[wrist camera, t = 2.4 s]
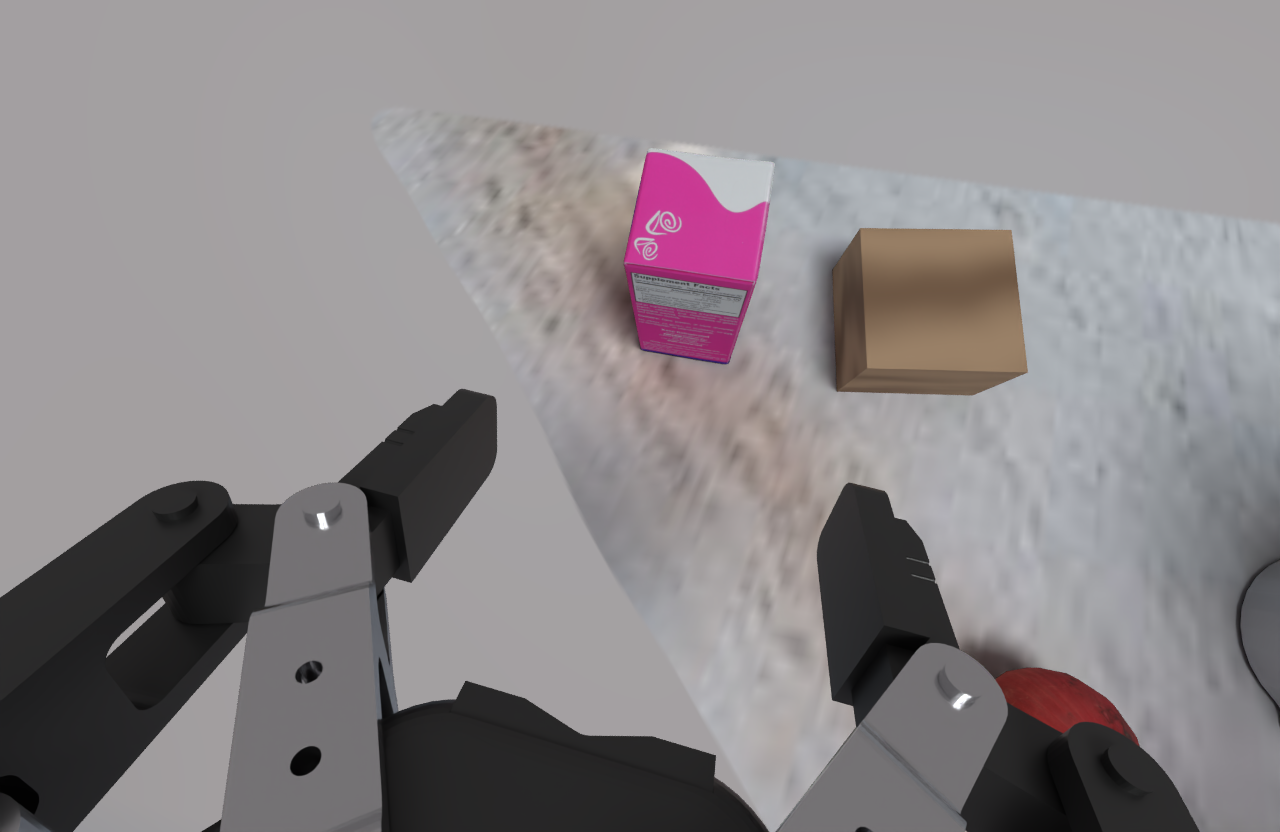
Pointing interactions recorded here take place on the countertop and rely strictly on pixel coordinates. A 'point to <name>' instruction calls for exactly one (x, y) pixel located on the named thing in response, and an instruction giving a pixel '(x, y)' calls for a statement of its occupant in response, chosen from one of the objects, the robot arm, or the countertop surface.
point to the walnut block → (927, 312)
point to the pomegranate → (1060, 700)
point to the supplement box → (696, 251)
